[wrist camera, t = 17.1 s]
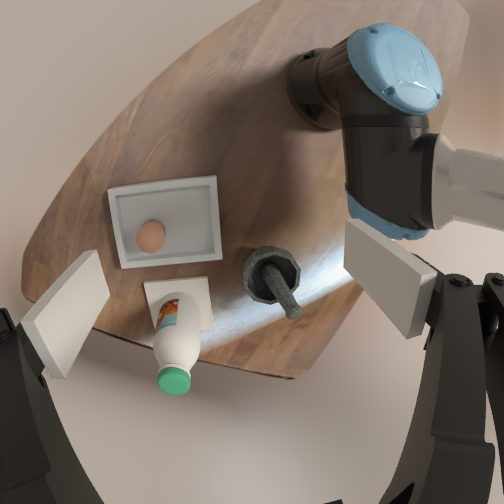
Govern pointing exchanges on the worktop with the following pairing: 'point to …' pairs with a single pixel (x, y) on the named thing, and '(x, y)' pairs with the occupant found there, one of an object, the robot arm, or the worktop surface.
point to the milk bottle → (177, 341)
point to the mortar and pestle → (272, 278)
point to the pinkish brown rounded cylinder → (151, 236)
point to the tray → (168, 220)
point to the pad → (184, 285)
